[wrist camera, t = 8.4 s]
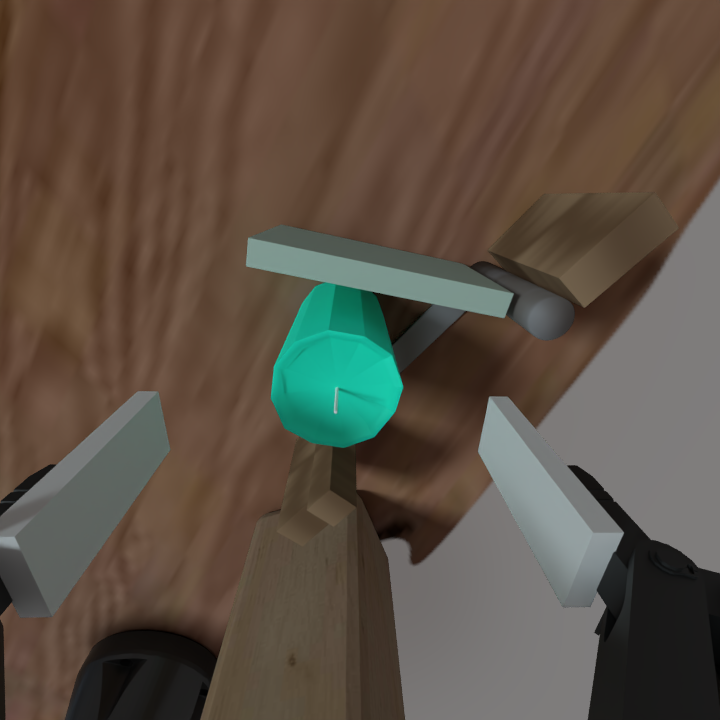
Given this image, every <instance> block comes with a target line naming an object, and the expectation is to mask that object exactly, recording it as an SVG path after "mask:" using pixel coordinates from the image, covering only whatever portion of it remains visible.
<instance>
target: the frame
mask: <svg viewBox="0 0 720 720" xmlns="http://www.w3.org/2000/svg"><path fill="white" fill-rule="evenodd" d="M678 228H679V227H678V226H677V224H676V223H675V221H674V220H673V218H672V217H671V215H670V214H669V212H668V211H667V209H666V208H665V206H664V205H663V203H662V202H661V200H660V199H659V197H658V196H657V194H656V193H655V192H640V193H576V194H544V195H543V196H542V197H541V198H540V199H539V200H538V201H537V202H536V203H535V204H534V205H533V206H532V207H531V208H530V209H529V210H528V211H527V212H526V213H525V214H523V215H522V216H521V217H520V218H519V219H518V220H517V221H516V222H515V223H514V224H513V225H512V226H511V227H510V228H509V229H508V230H507V231H506V232H505V233H504V234H503V235H502V236H501V237H500V238H499V239H498V240H497V241H496V242H495V243H494V244H493V245H492V246H491V247H490V248H489V249H488V250H487V251H488V252H489V253H490V254H491V255H492V256H493V257H494V258H495V259H496V260H497V262H498V263H499V264H500V265H501V266H502V267H503V268H504V269H505V270H506V271H505V270H503V269H501V268H499V267H497V266H495V265H493V264H490V263H488V262H485V261H480V262H477V263H475V264H473V265H472V266H471V267H470V268H471V269H473V270H475V271H476V272H478V273H480V274H481V275H483V276H485V277H487V278H488V279H490V280H492V281H493V282H495V283H497V284H498V285H500V286H502V287H504V288H505V289H507V290H509V291H510V292H512V293H514V294H513V297H512V300H511V302H510V305H509V307H508V310H507V313H506V315H507V316H508V317H510V318H511V319H512V320H514V321H515V322H516V323H518V324H519V325H520V326H522V327H523V328H524V329H526V330H527V331H528V332H530V333H531V334H532V335H534V336H535V337H537V338H538V339H541V340H553V339H556V338H558V337H560V336H562V335H563V334H565V333H566V332H567V331H568V330H569V328H570V327H571V325H572V323H573V321H574V316H575V311H574V307H573V305H572V304H571V303H570V302H569V301H571V302H573V303H575V304H577V305H579V306H582V307H584V308H585V307H586V306H587V305H589V304H590V303H591V302H592V301H593V300H594V299H596V298H597V297H598V296H599V295H600V294H602V293H603V292H604V291H605V290H606V289H607V288H609V287H610V286H611V285H612V284H613V283H615V282H616V281H617V280H618V279H619V278H621V277H622V276H623V275H624V274H625V273H626V272H628V271H629V270H630V269H631V268H632V267H634V266H635V265H636V264H637V263H638V262H639V261H641V260H642V259H643V258H644V257H645V256H647V255H648V254H649V253H650V252H651V251H652V250H654V249H655V248H656V247H657V246H658V245H660V244H661V243H662V242H663V241H664V240H665V239H667V238H668V237H669V236H670V235H671V234H673V233H674V232H675V231H676V230H677V229H678ZM526 280H527V281H526ZM545 289H546V290H545ZM562 297H563V298H562ZM568 300H569V301H568ZM465 311H466V310H461V309H456V308H451V307H446V306H441V305H436V304H433V305H432V306H431V307H430V308H429V309H428V310H427V311H426V312H425V313H424V314H423V315H422V316H421V317H420V318H419V319H418V320H417V321H416V322H415V323H414V324H413V325H412V326H410V327H409V328H408V329H407V330H406V331H405V332H404V333H403V334H402V335H401V336H400V337H399V338H398V339H397V340H396V341H395V342H394V343H393V344H392V348H393V352H394V355H395V359H396V362H397V366H398V370H399V373H401V372H402V371H403V370H404V369H405V368H406V367H407V366H408V365H409V364H410V363H411V362H413V361H414V360H415V359H416V358H417V357H418V356H419V355H420V354H421V353H422V352H423V351H424V350H425V349H426V348H427V347H428V346H429V345H430V344H431V343H433V342H434V341H435V340H436V339H437V338H438V337H439V336H440V335H441V334H442V333H443V332H444V331H445V330H446V329H447V328H448V327H449V326H450V325H451V324H453V323H454V322H455V321H456V320H457V319H458V318H459V317H460V316H461V315H462V314H463V313H464V312H465ZM356 508H357V494H356V450H355V444H354V445H351V446H348V447H345V448H341V447H334V446H327V445H321V444H314V443H311V442H309V441H307V440H305V439H303V438H301V437H299V438H297V439H296V444H295V448H294V453H293V457H292V462H291V467H290V471H289V476H288V480H287V485H286V489H285V494H284V498H283V503H282V507H281V512H280V517H279V521H278V526H277V530H276V532H278V533H280V534H281V535H283V536H285V537H287V538H288V539H290V540H292V541H293V542H295V543H297V544H299V545H300V546H304V545H305V544H306V543H307V542H308V541H310V540H311V539H312V538H313V537H314V536H315V535H317V534H318V533H319V532H320V531H321V530H323V529H324V528H325V527H326V526H327V525H328V524H330V525H332V526H333V527H334V526H335V525H337V524H338V523H339V522H340V521H341V520H342V519H344V518H345V517H346V516H347V515H348V514H350V513H351V512H352V511H353V510H354V509H356Z"/></svg>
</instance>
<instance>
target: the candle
mask: <svg viewBox="0 0 720 720" xmlns="http://www.w3.org/2000/svg"><path fill="white" fill-rule="evenodd" d="M402 389H403V384H402V380H401V377H400V373H399V370H398V366H397V362H396V359H395V355H394V352H393V348H392V344H391V341H390V337H389V334H388V330H387V327H386V323H385V319H384V316H383V313H382V310H381V307H380V305H379V302H378V299H377V296H376V295H375V294H373V293H372V292H371V291H367V290H362V289H357V288H352V287H347V286H342V285H337V284H332V283H327V282H325V283H323V284H320V285H317V286H315V288H314V289H313V290H312V291H311V293H310V294H309V295H308V297H307V298H306V299H305V300H304V302H303V303H302V305H301V307H300V309H299V312H298V314H297V316H296V318H295V321H294V323H293V325H292V327H291V330H290V332H289V334H288V336H287V338H286V341H285V343H284V345H283V347H282V350H281V352H280V354H279V356H278V359H277V361H276V363H275V365H274V372H273V382H272V392H271V400H272V402H273V404H274V406H275V408H276V411H277V413H278V415H279V417H280V419H281V422H282V424H283V426H284V428H285V429H287V430H289V431H290V432H292V433H294V434H296V435H298V436H300V437H301V438H303V439H305V440H307V441H309V442H311V443H314V444H321V445H327V446H334V447H341V448H345V447H348V446H351V445H354V444H357V443H360V442H362V441H365V440H368V439H371V438H374V437H375V436H376V435H377V433H378V432H379V431H380V430H381V429H382V427H383V426H384V425H385V424H386V423H387V421H388V420H389V419H390V418H391V416H392V415H393V414H394V413H395V411H396V408H397V405H398V402H399V399H400V396H401V393H402Z"/></svg>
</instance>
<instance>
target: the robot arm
mask: <svg viewBox="0 0 720 720" xmlns="http://www.w3.org/2000/svg"><path fill="white" fill-rule="evenodd" d="M169 451H170V446H169V441H168V437H167V432H166V427H165V422H164V417H163V412H162V407H161V403H160V398H159V393H158V392H151V391H138V392H137V393H135V394H134V395H133V396H132V397H131V398H130V399H129V400H128V401H127V402H126V403H124V404H123V405H122V406H121V407H120V408H119V409H118V410H117V411H116V412H115V413H113V414H112V415H111V416H110V417H109V418H108V419H107V420H106V421H105V422H104V423H102V424H101V425H100V426H99V427H98V428H97V429H96V430H95V431H94V432H93V433H91V434H90V435H89V436H88V437H87V438H86V439H85V440H84V441H83V442H82V443H80V444H79V445H78V446H77V447H76V448H75V449H74V450H73V451H72V452H71V453H69V454H68V455H67V456H66V457H65V458H64V459H63V460H62V461H61V462H60V463H58V464H57V465H48V466H47V467H45V468H43V469H41V470H40V471H38V472H36V473H34V474H33V475H31V476H29V477H28V478H27V479H26V480H25V481H23V482H22V483H21V484H20V485H19V486H18V487H16V488H15V489H14V492H11V493H10V494H8V495H7V496H6V497H5V498H4V499H3V500H1V503H0V615H1V614H2V613H3V612H4V611H5V609H6V608H7V607H8V606H9V605H10V603H11V602H12V603H13V605H14V607H15V609H16V611H17V613H18V615H19V617H20V618H22V617H53V615H54V614H55V612H56V611H57V610H58V608H59V607H60V605H61V604H62V603H63V601H64V600H65V598H66V597H67V595H68V594H69V593H70V591H71V590H72V588H73V587H74V586H75V584H76V583H77V581H78V580H79V578H80V577H81V576H82V574H83V573H84V571H85V570H86V569H87V567H88V566H89V564H90V563H91V561H92V560H93V559H94V557H95V556H96V554H97V553H98V551H99V550H100V549H101V547H102V546H103V544H104V543H105V542H106V540H107V539H108V537H109V536H110V534H111V533H112V532H113V530H114V529H115V527H116V526H117V525H118V523H119V522H120V520H121V519H122V517H123V516H124V515H125V513H126V512H127V510H128V509H129V508H130V506H131V505H132V503H133V502H134V500H135V499H136V498H137V496H138V495H139V493H140V492H141V491H142V489H143V488H144V486H145V485H146V483H147V482H148V481H149V479H150V478H151V476H152V475H153V474H154V472H155V471H156V469H157V468H158V466H159V465H160V464H161V462H162V461H163V459H164V458H165V457H166V455H167V454H168V452H169ZM478 453H479V454H480V456H481V458H482V460H483V462H484V464H485V465H486V467H487V469H488V471H489V473H490V475H491V476H492V478H493V480H494V482H495V484H496V485H497V487H498V489H499V491H500V493H501V495H502V497H503V498H504V500H505V502H506V504H507V506H508V508H509V509H510V511H511V513H512V515H513V517H514V519H515V520H516V522H517V524H518V526H519V528H520V530H521V531H522V533H523V535H524V537H525V539H526V540H527V542H528V544H529V546H530V548H531V550H532V552H533V553H534V555H535V557H536V559H537V561H538V563H539V565H540V566H541V568H542V570H543V572H544V574H545V576H546V577H547V579H548V581H549V583H550V585H551V586H552V588H553V590H554V592H555V594H556V596H557V598H558V599H559V601H560V603H561V605H562V607H590V606H591V604H592V602H593V600H594V597H595V595H596V593H597V592H598V593H599V595H600V596H601V598H602V599H603V601H604V603H605V604H606V606H607V607H606V609H605V611H604V614H603V615H602V617H601V619H600V622H599V624H598V626H597V628H596V630H595V633H596V634H597V635H600V638H599V645H598V652H597V659H596V667H595V673H594V681H593V687H592V695H591V701H590V709H589V715H588V720H720V573H716V572H712V571H708V570H705V569H701V568H698V567H697V566H696V565H695V564H694V562H693V561H692V560H690V559H689V558H688V557H687V556H685V555H684V554H683V553H682V552H680V551H678V550H677V549H675V548H673V547H671V546H669V545H667V544H664V543H661V542H658V541H654V540H650V538H649V537H648V536H647V535H646V534H645V533H644V532H643V531H642V530H641V529H640V528H639V526H638V525H637V524H636V523H635V522H634V521H633V520H632V519H631V518H630V517H629V516H628V514H626V512H625V511H624V510H623V509H622V508H621V507H620V506H619V505H618V504H617V503H616V502H614V501H613V498H612V497H611V496H610V495H609V494H608V493H607V492H606V491H604V488H603V487H602V486H601V485H600V484H599V483H598V482H597V481H596V480H595V478H593V476H591V475H590V474H588V473H587V472H585V471H584V470H583V469H581V468H580V467H578V466H575V465H571V466H570V465H569V466H567V465H566V464H565V463H564V462H563V461H562V460H561V458H560V457H559V456H558V455H557V454H556V453H555V451H554V450H553V449H552V448H551V447H550V445H549V444H548V443H547V442H546V441H545V440H544V438H543V437H542V436H541V435H540V434H539V433H538V431H537V430H536V429H535V428H534V427H533V426H532V424H531V423H530V422H529V421H528V420H527V419H526V417H525V416H524V415H523V414H522V413H521V412H520V410H519V409H518V408H517V407H516V406H515V405H514V403H513V402H512V401H511V400H510V399H509V397H495V396H489V401H488V406H487V411H486V416H485V420H484V425H483V430H482V435H481V440H480V444H479V449H478ZM216 663H217V660H216V658H215V657H214V656H213V655H212V654H211V653H210V652H209V651H208V650H207V649H205V648H204V647H202V646H201V645H199V644H197V643H195V642H193V641H191V640H189V639H186V638H183V637H181V636H177V635H173V634H169V633H164V632H156V631H130V632H123V633H119V634H115V635H112V636H109V637H107V638H105V639H103V640H101V641H100V642H98V643H97V644H96V645H95V646H94V647H93V648H92V650H91V651H90V653H89V655H88V657H87V658H86V660H85V662H84V664H83V665H82V667H81V669H80V671H79V673H78V675H77V678H76V681H75V685H74V689H73V692H72V696H71V699H70V703H69V707H68V710H67V714H66V717H65V720H200V719H201V716H202V712H203V709H204V705H205V702H206V698H207V695H208V691H209V688H210V684H211V681H212V677H213V674H214V670H215V667H216ZM0 720H5V679H4V635H3V625H2V622H1V620H0Z"/></svg>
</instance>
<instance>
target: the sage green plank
mask: <svg viewBox="0 0 720 720" xmlns="http://www.w3.org/2000/svg"><path fill="white" fill-rule="evenodd" d="M246 266H247V267H252V268H257V269H262V270H267V271H272V272H277V273H282V274H287V275H292V276H297V277H302V278H307V279H312V280H317V281H322V282H327V283H332V284H337V285H342V286H347V287H352V288H357V289H362V290H367V291H372V292H376V293H381V294H386V295H391V296H396V297H401V298H406V299H411V300H416V301H421V302H426V303H431V304H436V305H441V306H446V307H451V308H456V309H461V310H466V311H471V312H476V313H481V314H486V315H491V316H496V317H500V318H505V315H506V313H507V310H508V307H509V305H510V302H511V300H512V297H513V294H514V293H512V292H510V291H509V290H507V289H505V288H504V287H502V286H500V285H498V284H497V283H495V282H493V281H492V280H490V279H488V278H487V277H485V276H483V275H481V274H480V273H478V272H476V271H475V270H473V269H471V268H470V267H468V266H466V265H464V264H461V263H457V262H452V261H448V260H443V259H438V258H434V257H429V256H424V255H420V254H415V253H411V252H406V251H401V250H397V249H392V248H387V247H383V246H378V245H374V244H369V243H364V242H360V241H355V240H350V239H346V238H341V237H337V236H332V235H327V234H323V233H318V232H313V231H309V230H304V229H300V228H295V227H290V226H286V225H279V226H276V227H274V228H271V229H269V230H266V231H264V232H261V233H259V234H256V235H254V236H251V237H249V238H248V248H247V261H246Z"/></svg>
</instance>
